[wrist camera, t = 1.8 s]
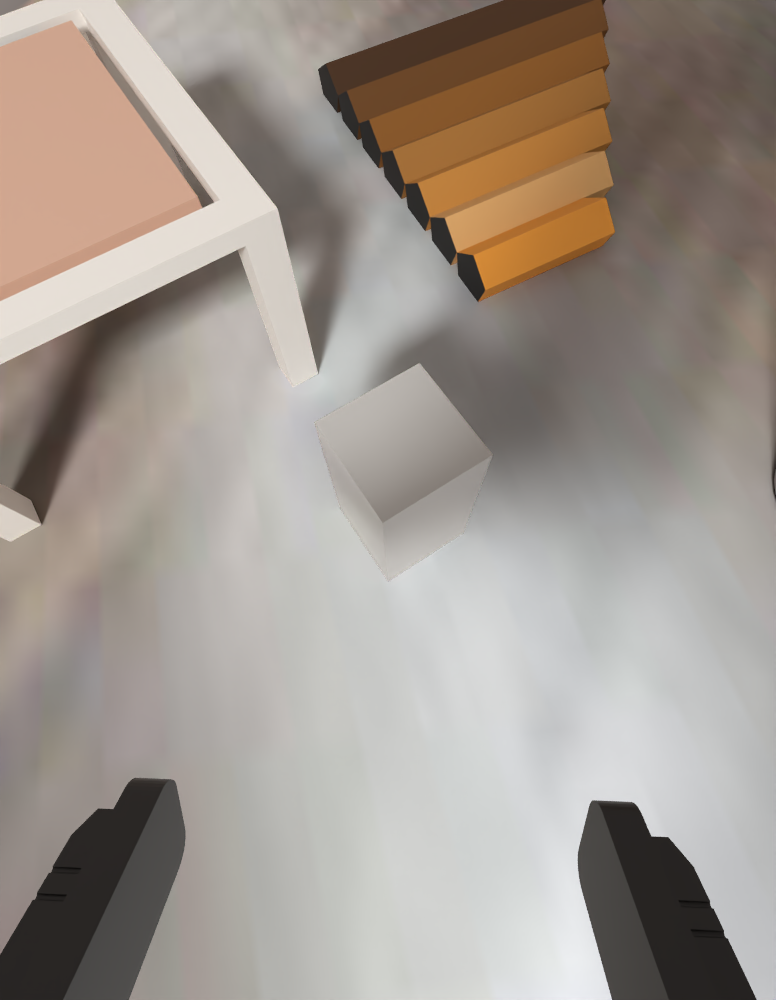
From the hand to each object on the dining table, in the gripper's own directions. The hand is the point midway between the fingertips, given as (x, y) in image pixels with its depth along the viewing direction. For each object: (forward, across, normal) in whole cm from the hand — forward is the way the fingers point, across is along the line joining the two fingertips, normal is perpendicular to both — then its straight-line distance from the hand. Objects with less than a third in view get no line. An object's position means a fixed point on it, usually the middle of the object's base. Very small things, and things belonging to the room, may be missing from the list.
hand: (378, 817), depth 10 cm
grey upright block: (+20, 0, +3) cm, 20 cm away
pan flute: (+43, -10, -19) cm, 48 cm away
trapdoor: (+21, +19, -13) cm, 31 cm away
